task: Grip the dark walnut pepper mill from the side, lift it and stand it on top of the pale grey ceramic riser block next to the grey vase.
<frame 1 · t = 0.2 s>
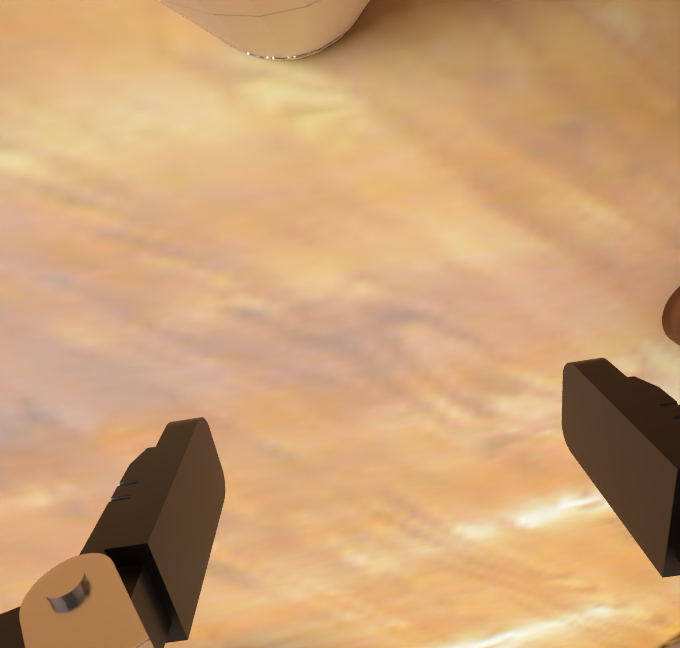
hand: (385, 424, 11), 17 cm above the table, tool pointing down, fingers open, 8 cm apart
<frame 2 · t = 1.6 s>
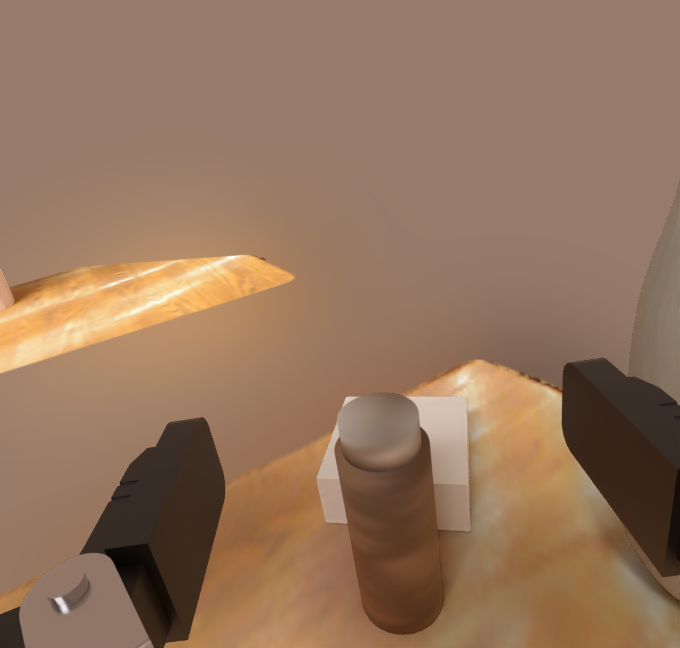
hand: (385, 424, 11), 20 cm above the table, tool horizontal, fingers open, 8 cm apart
riser block: (402, 476, 38), on the table
pepper mill: (402, 594, 29), on the table
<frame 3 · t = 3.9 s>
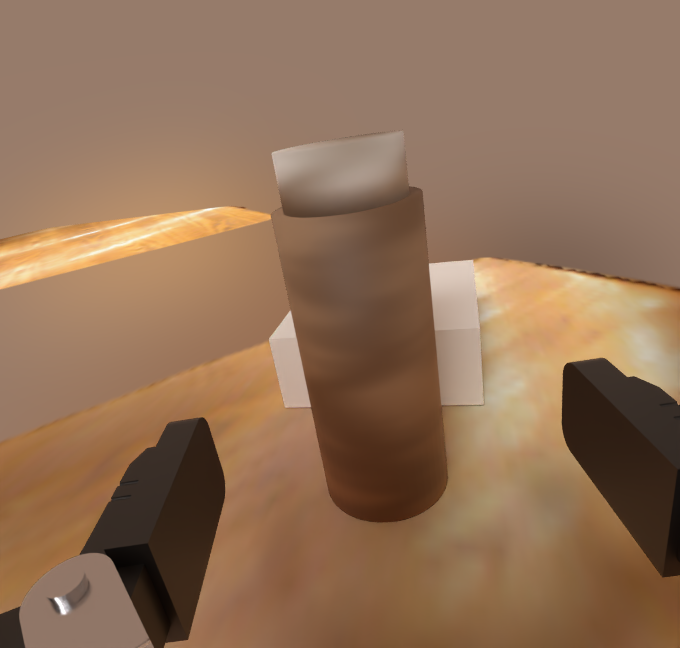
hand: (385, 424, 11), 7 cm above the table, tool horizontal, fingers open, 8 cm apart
riser block: (390, 358, 29), on the table
pepper mill: (386, 476, 20), on the table
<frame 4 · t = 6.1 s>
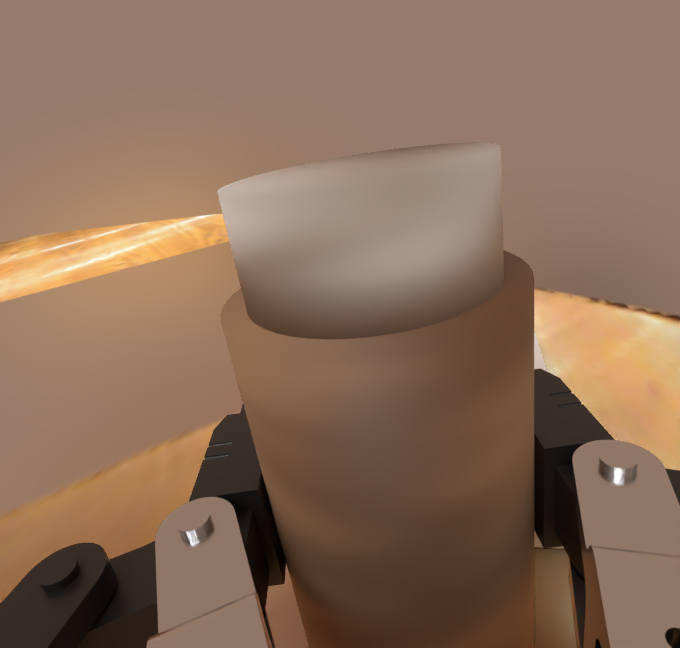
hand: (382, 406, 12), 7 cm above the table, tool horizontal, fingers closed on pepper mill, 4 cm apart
riser block: (418, 446, 21), on the table
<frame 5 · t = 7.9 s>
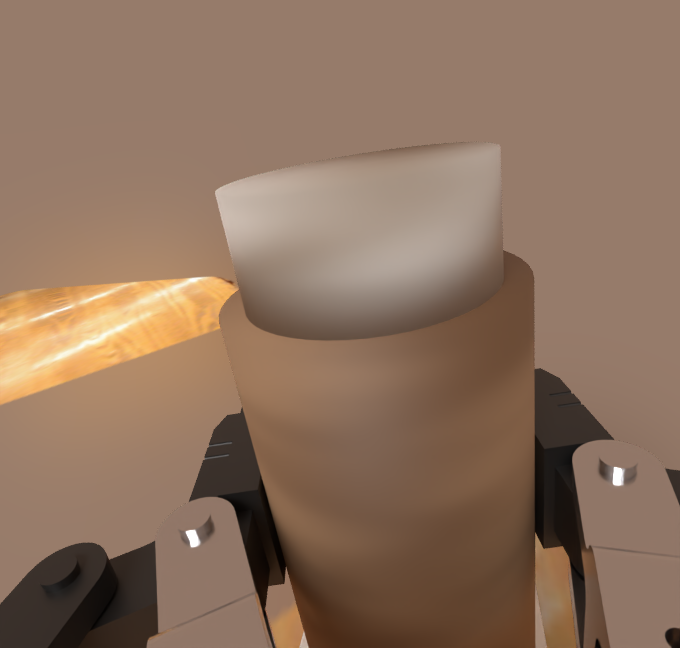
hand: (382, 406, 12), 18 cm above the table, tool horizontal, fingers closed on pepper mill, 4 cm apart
when the fingers open (12 cm above the table, at t = 9.7 s): pepper mill stays where it is, resting on riser block.
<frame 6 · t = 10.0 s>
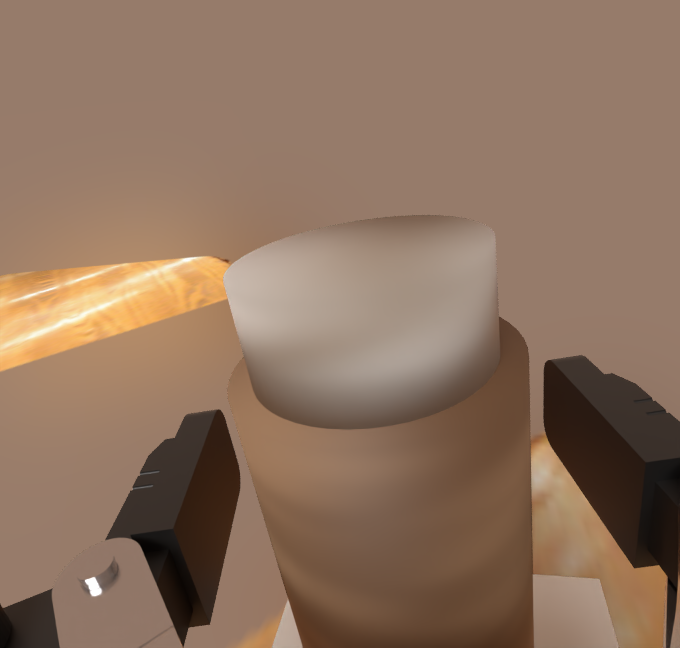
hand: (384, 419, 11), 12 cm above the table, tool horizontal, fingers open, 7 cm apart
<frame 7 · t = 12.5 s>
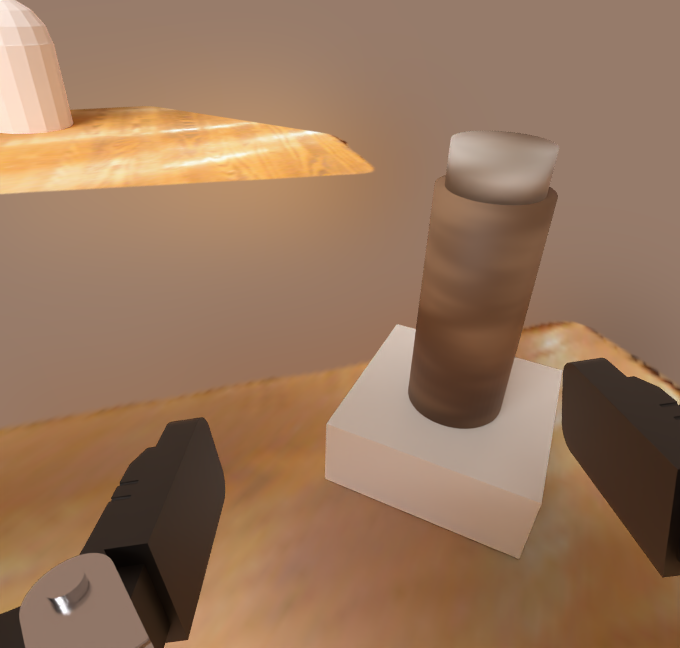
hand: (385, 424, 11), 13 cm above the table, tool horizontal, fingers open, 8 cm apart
riser block: (442, 447, 28), on the table
container: (33, 126, 91), on the table
pepper mill: (453, 395, 26), point 4 cm above the table, touching riser block
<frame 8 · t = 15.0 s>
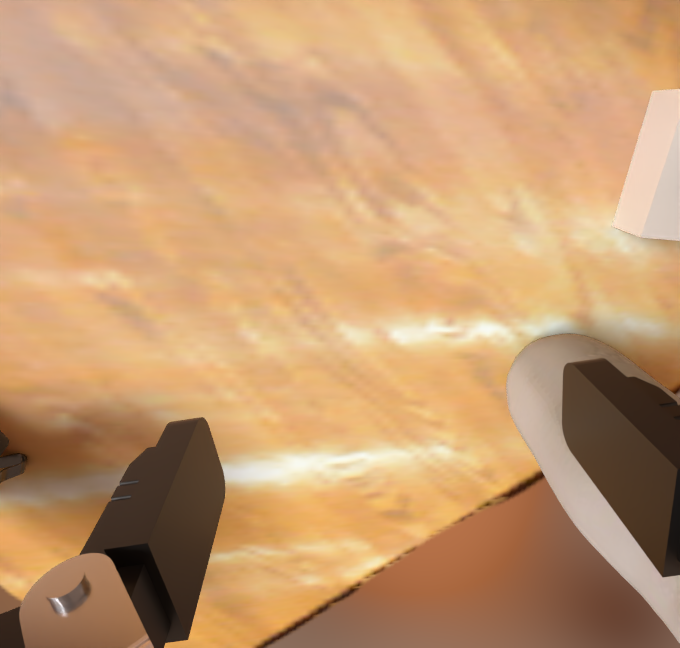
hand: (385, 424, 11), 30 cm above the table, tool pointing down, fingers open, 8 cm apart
grey vase: (544, 365, 45), on the table
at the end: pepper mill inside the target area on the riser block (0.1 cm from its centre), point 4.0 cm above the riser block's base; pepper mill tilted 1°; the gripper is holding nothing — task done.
